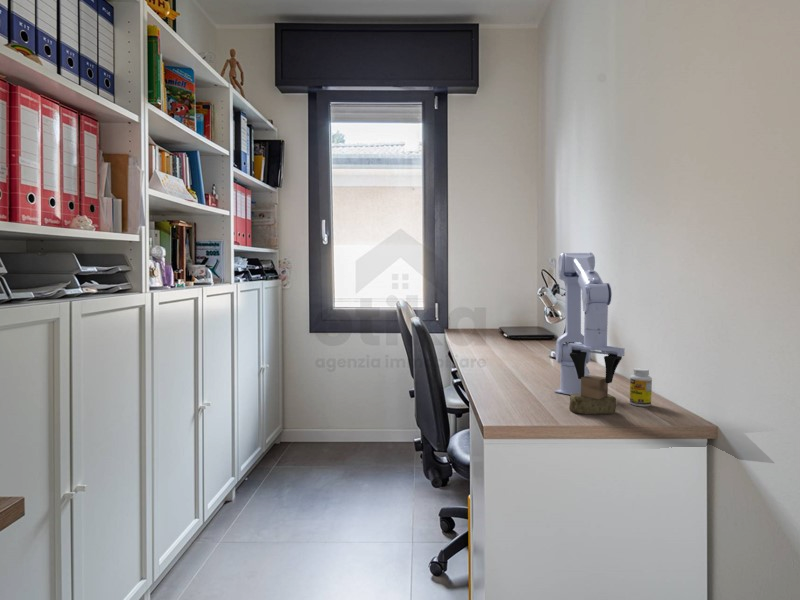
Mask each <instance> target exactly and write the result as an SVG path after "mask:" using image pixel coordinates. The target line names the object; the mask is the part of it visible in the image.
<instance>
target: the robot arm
mask: <svg viewBox="0 0 800 600" xmlns="http://www.w3.org/2000/svg"><path fill="white" fill-rule="evenodd" d="M595 258H596V257H595V254H594V253H593V252H561V253H560V254H559V257H558V279H559V280H561V281H563V282H564V287H565V288H564V290H565V299H564V300H565V303H564V304H565V311H564V312H565V313H564V314H565V320H564V321H565V324H564V326H565V332H564V333H563V334H561V335H560V336H559V337H557V339H556V345H555V354H554V355H555V360H556V362H557V363H558V364H559V365H560V375H559V377H560V381H559V385H560V386H559V389H555V390H554V392H555V393H559V394H565V395H571V394H581V377H584V376H588V375H590V369H589V368H588V366H587V364H589V362H591V359H592V358H591V355H592V354H600V355H604V356H603V360H604V365H605V366H604V367H605V377H606V383H608V384H612V383H613V378H614V375H615V372H616V369H617V367H618V366H619V364H620V362H621V360H622V359H623V357H624V356H625V348H624V347H618V346H617V347H616V346H611V345H608V323H609V322H608V319H609V317H608V316H609V314H608V313H609V306H610V304H611V302H612V294H613V293H612V287H611V285H610V283H609V282H604V281H603V279H602V278H601V276H600V274H599V273H598V272H597V271H596V270H595V266H596V259H595ZM582 311H583V313H584V317H583V319H584V322H583V325H584V326H583V327H584V328H583V334H582Z"/></svg>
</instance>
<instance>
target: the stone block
mask: <svg viewBox="0 0 800 600" xmlns="http://www.w3.org/2000/svg"><path fill="white" fill-rule="evenodd" d="M568 409H569V411H570V412H571V411H572V413H573V414H574V413H575V414H580V415H581V414H583V415H613V414H615V413H616V409H617V398H616V397H615V396H613V395H611V394H608V396H607V397H604V398H601V399H595V398H589V397H584V396H581V394H571V395H570V397H569V407H568Z"/></svg>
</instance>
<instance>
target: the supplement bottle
mask: <svg viewBox="0 0 800 600" xmlns="http://www.w3.org/2000/svg"><path fill="white" fill-rule="evenodd" d="M649 370H650V369H647V368H641V367H640V368H639V367H636V368H633V371H632V372H633V374H631V375H630V378H629V379H630V383H629V403H630V405H633V406H635V407H643V408H644V407H650V406H651V405H652V389H653V387H652V386H653V378H652V377H651V376H650V371H649Z"/></svg>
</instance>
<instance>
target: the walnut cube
mask: <svg viewBox="0 0 800 600" xmlns="http://www.w3.org/2000/svg"><path fill="white" fill-rule="evenodd" d="M608 388H609V383H606V376H599V375H593V374H589V375H588V376H584V377H581V396H584V397H589V398H595V399H601V398H604V397H607V396H608V393H609V389H608Z"/></svg>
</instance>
